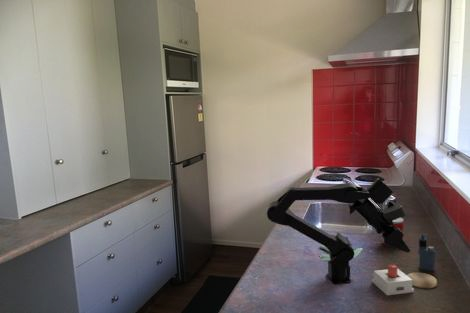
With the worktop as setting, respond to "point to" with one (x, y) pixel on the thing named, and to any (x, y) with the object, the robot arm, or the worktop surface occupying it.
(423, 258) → the vaping device
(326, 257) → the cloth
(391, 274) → the button
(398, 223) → the canned food
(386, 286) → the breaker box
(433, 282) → the coaster
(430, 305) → the worktop surface
